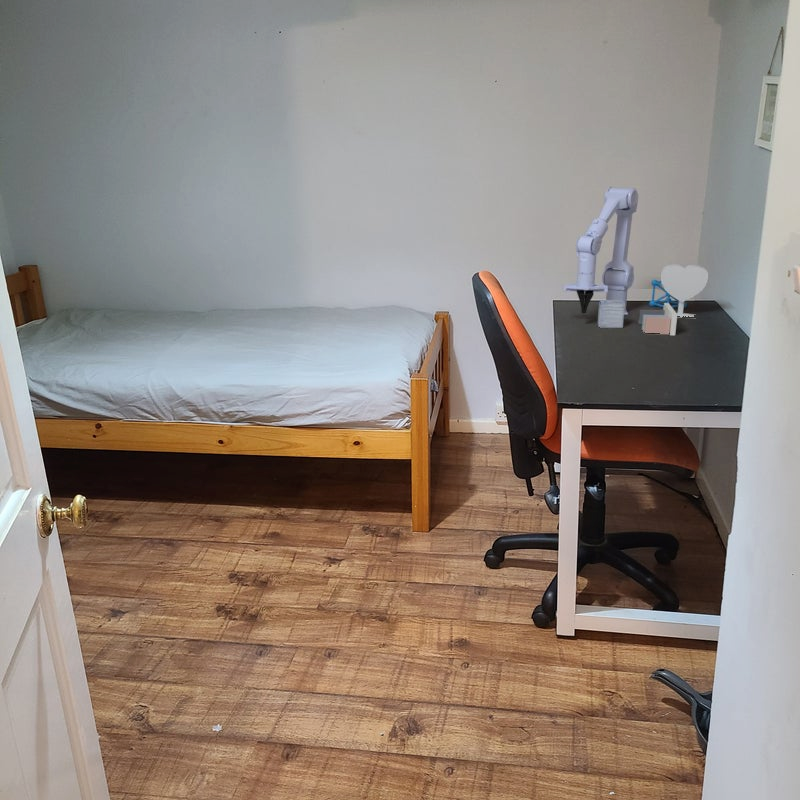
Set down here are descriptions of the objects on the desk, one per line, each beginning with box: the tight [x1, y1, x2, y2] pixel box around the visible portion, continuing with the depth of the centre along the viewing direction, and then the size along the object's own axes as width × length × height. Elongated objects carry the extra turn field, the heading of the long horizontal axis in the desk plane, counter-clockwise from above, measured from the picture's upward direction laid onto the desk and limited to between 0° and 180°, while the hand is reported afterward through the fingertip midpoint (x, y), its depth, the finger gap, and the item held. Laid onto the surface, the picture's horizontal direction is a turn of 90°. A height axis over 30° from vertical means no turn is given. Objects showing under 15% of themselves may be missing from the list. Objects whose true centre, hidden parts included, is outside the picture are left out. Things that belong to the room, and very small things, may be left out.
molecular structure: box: [648, 279, 688, 309], centre depth 296 cm, size 10×10×10 cm
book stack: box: [637, 302, 678, 336], centre depth 269 cm, size 17×10×7 cm, turn 172°
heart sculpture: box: [660, 263, 709, 318], centre depth 283 cm, size 16×5×18 cm, turn 73°
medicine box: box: [597, 299, 625, 329], centre depth 272 cm, size 8×4×9 cm, turn 84°
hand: (583, 312), depth 273 cm, fingers closed
